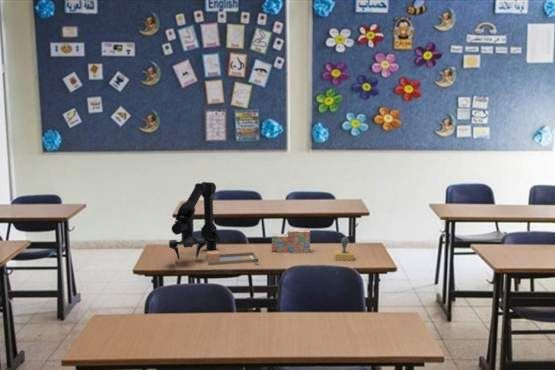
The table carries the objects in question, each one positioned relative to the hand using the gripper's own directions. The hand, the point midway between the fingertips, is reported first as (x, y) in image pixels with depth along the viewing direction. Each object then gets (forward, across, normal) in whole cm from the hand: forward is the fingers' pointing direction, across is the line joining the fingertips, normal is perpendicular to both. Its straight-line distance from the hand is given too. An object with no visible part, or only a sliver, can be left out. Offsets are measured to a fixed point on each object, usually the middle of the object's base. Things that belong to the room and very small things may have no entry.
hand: (187, 258), depth 329 cm
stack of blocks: (+3, +59, +12) cm, 60 cm away
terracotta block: (+2, +13, 0) cm, 13 cm away
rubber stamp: (+3, +83, -10) cm, 84 cm away
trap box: (+3, +23, -2) cm, 23 cm away
